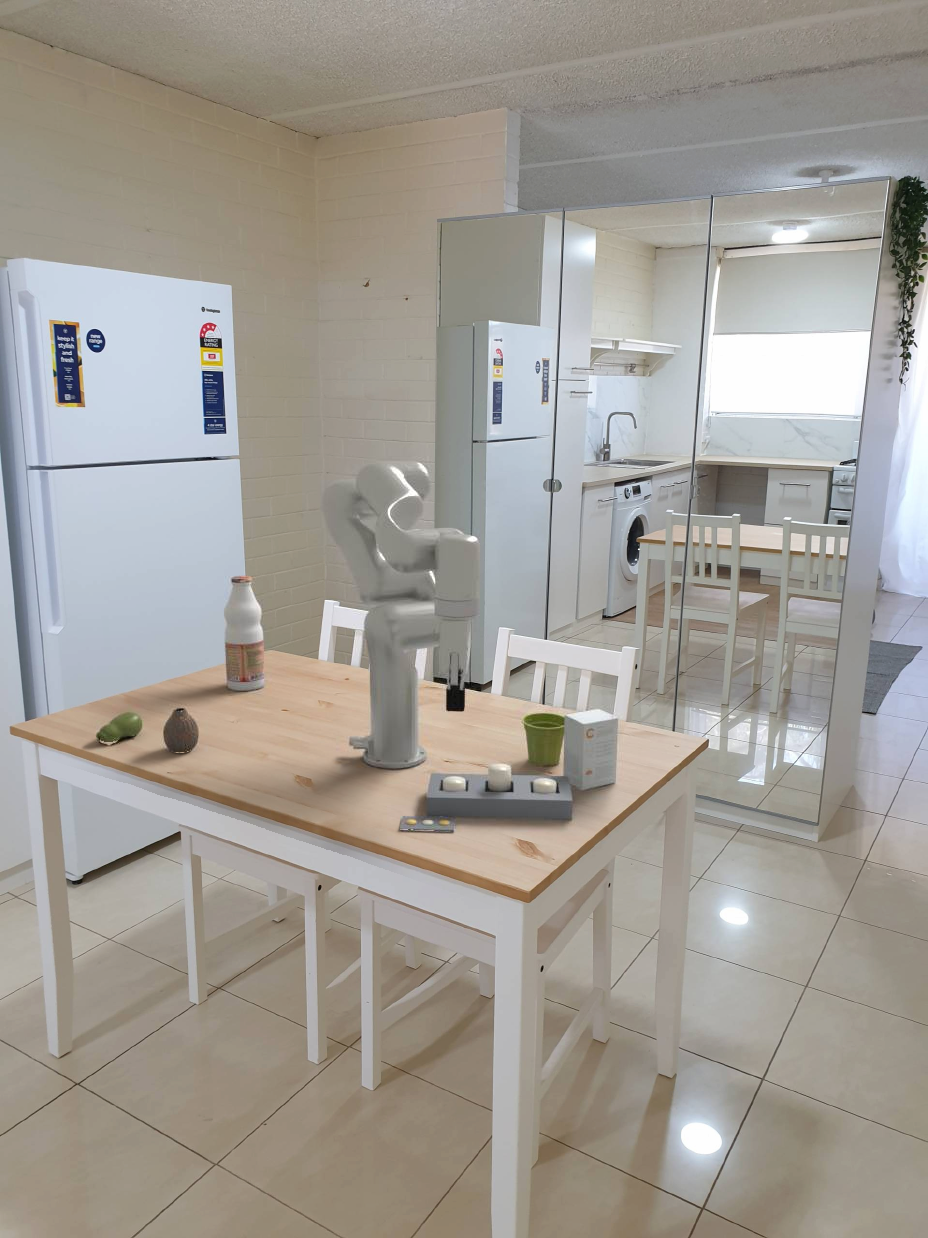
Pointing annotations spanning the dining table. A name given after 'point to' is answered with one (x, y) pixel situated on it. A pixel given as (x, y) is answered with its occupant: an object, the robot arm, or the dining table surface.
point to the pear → (120, 727)
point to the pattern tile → (428, 823)
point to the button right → (544, 786)
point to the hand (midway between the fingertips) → (455, 709)
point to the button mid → (499, 777)
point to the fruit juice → (243, 638)
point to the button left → (454, 784)
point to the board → (499, 798)
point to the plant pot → (544, 737)
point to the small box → (590, 748)
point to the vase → (180, 731)
